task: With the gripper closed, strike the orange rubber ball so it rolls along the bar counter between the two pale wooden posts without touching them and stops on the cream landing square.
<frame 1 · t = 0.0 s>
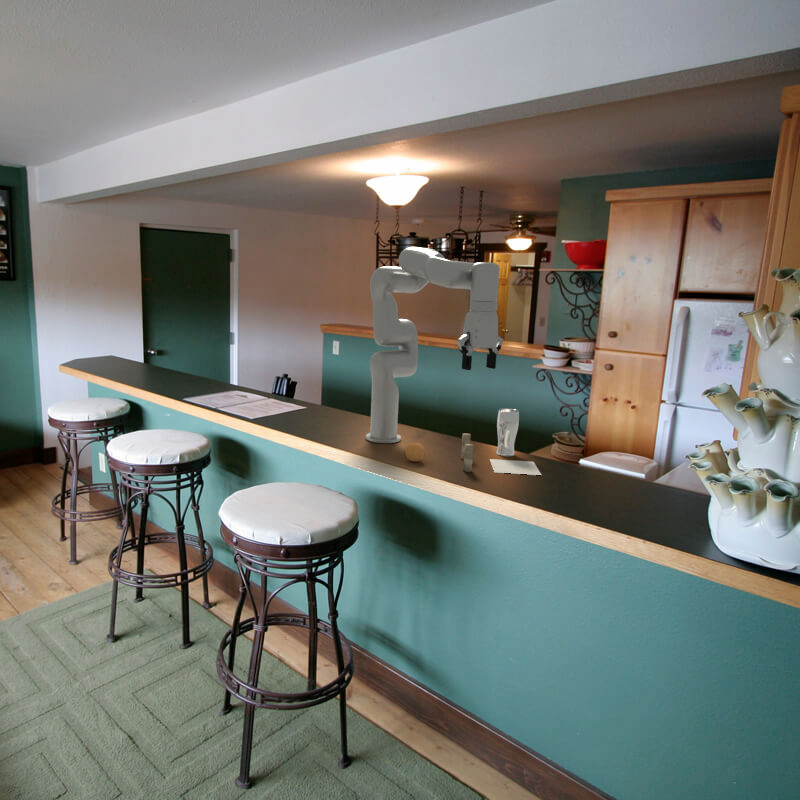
hand: (478, 368, 161), 31 cm above the table, tool pointing down, fingers open, 9 cm apart
front post: (467, 470, 170), on the table
beer glass: (505, 454, 191), on the table
ball: (415, 452, 177), on the table
back post: (464, 458, 183), on the table
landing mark: (514, 467, 176), on the table
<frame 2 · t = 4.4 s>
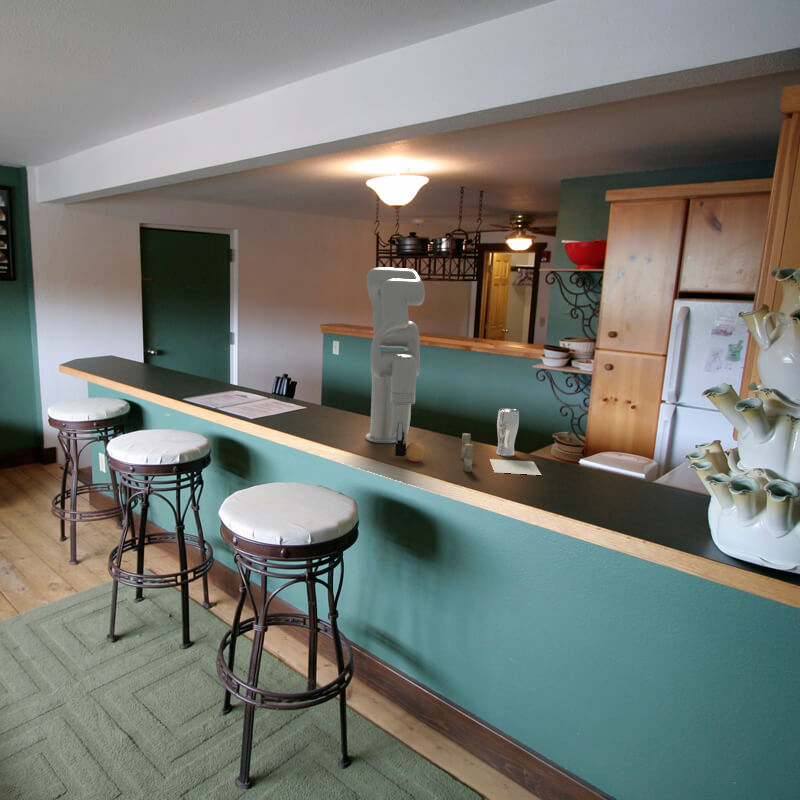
hand: (400, 455, 177), 2 cm above the table, tool pointing down, fingers closed
ball: (415, 452, 177), on the table, touching gripper
everything else where it was.
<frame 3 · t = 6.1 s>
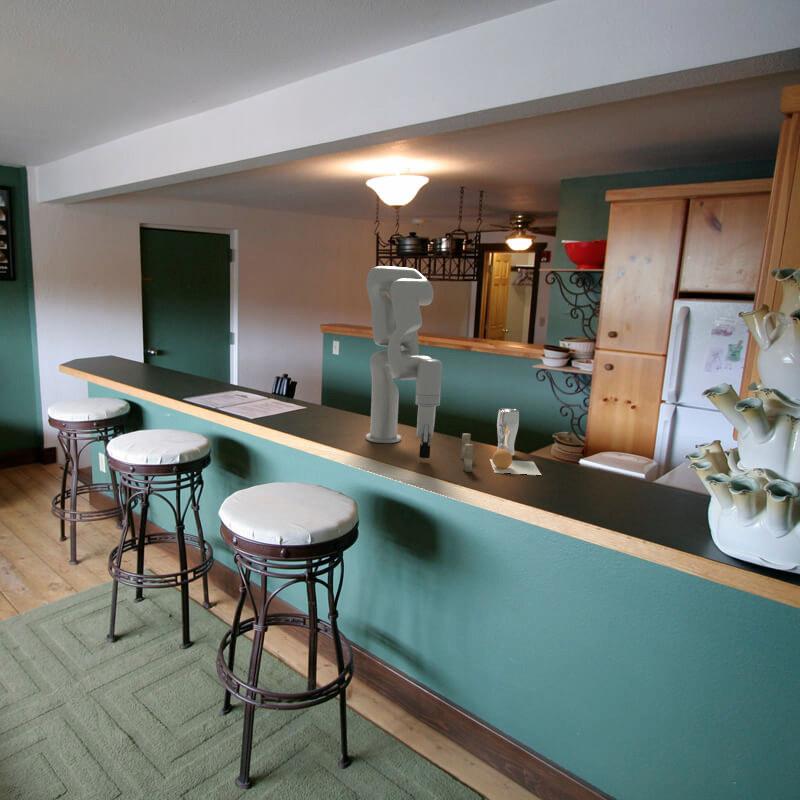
hand: (424, 457, 177), 2 cm above the table, tool pointing down, fingers closed
ball: (502, 458, 174), on the table
everything else where it was.
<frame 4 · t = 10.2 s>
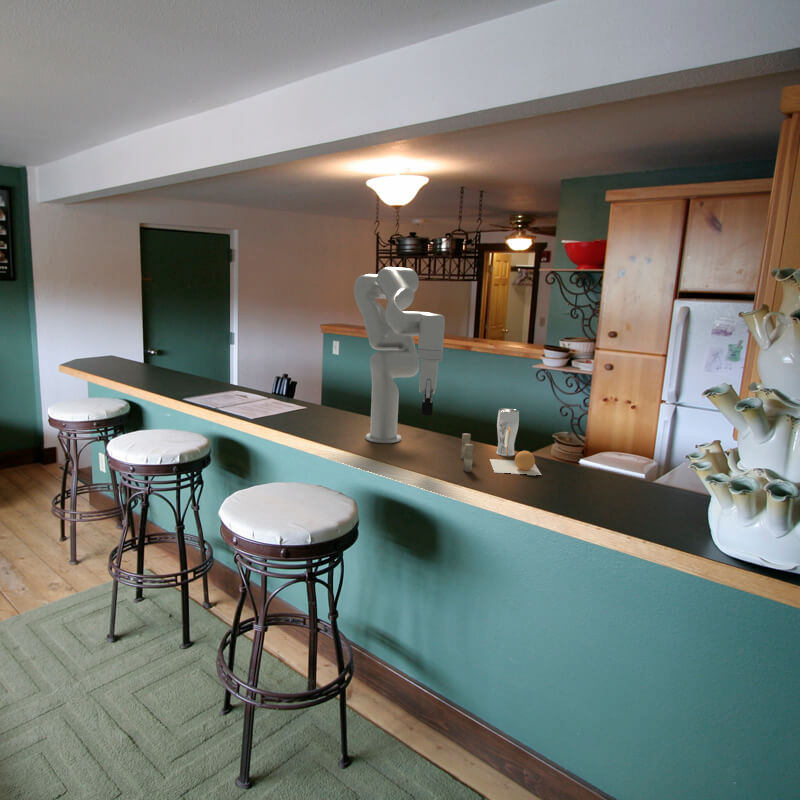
hand: (426, 414, 174), 15 cm above the table, tool pointing down, fingers closed
ball: (524, 460, 173), on the table
everything else where it was.
at the end: ball 3.4 cm from the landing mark (horizontally); ball never touched front post; ball never touched back post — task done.
